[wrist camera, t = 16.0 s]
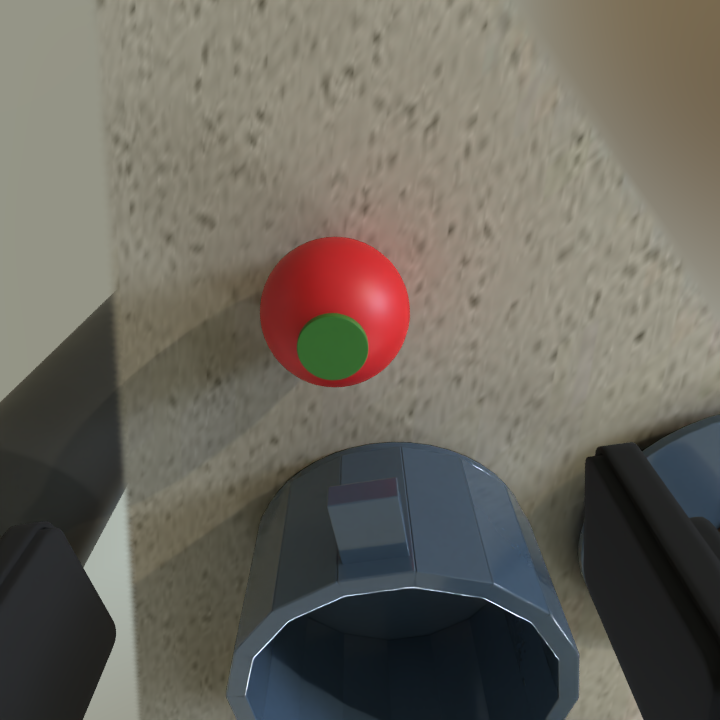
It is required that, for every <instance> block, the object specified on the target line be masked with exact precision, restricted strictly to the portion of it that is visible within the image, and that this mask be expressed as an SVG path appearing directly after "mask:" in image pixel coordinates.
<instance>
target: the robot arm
mask: <svg viewBox="0 0 720 720" xmlns="http://www.w3.org/2000/svg"><path fill="white" fill-rule="evenodd" d="M583 570H584V577H585V581H586V585H587V588H588V590H589V593H590V595H591V597H592V600H593V602H594V605H595V607H596V609H597V612H598V614H599V616H600V619H601V621H602V623H603V626H604V628H605V630H606V633H607V635H608V637H609V640H610V642H611V644H612V647H613V649H614V651H615V654H616V656H617V658H618V661H619V663H620V665H621V668H622V670H623V672H624V675H625V677H626V680H627V682H628V684H629V687H630V689H631V691H632V694H633V696H634V698H635V701H636V703H637V705H638V708H639V710H640V712H641V715H642V717H643V719H644V720H720V532H719V531H718V530H717V528H716V527H715V526H714V525H713V524H712V523H711V522H710V521H709V520H707V519H706V518H704V517H691V518H689V517H688V516H687V514H686V513H685V512H684V510H683V509H682V507H681V506H680V505H679V503H678V502H677V500H676V499H675V498H674V496H673V495H672V493H671V492H670V490H669V489H668V488H667V486H666V485H665V483H664V482H663V481H662V479H661V478H660V476H659V475H658V474H657V472H656V471H655V469H654V468H653V467H652V465H651V464H650V462H649V461H648V460H647V458H646V457H645V455H644V454H643V452H642V451H641V450H640V448H639V447H638V446H637V445H636V444H635V443H633V442H630V443H622V444H615V445H608V446H600V447H598V448H597V450H596V454H595V456H592V457H587V458H586V463H585V507H584V556H583ZM115 638H116V629H115V624H114V621H113V620H112V618H111V616H110V615H109V613H108V611H107V609H106V607H105V605H104V604H103V602H102V600H101V598H100V597H99V595H98V593H97V591H96V590H95V588H94V586H93V585H92V583H91V581H90V579H89V577H88V576H87V574H86V572H85V570H84V569H83V567H82V565H81V563H80V561H79V560H78V558H77V556H76V554H75V553H74V551H73V549H72V547H71V546H70V544H69V542H68V540H67V538H66V537H65V535H64V533H63V532H62V531H61V530H60V529H59V528H55V527H54V526H53V525H52V524H51V523H50V522H48V521H41V522H34V523H26V524H19V525H14V526H12V527H10V528H9V529H8V530H7V531H6V532H5V533H4V535H3V536H2V537H1V539H0V720H83V718H84V715H85V713H86V711H87V708H88V706H89V703H90V701H91V698H92V696H93V694H94V691H95V689H96V687H97V684H98V682H99V679H100V677H101V674H102V672H103V670H104V667H105V665H106V662H107V660H108V658H109V655H110V653H111V651H112V648H113V645H114V643H115Z"/></svg>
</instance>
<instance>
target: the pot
mask: <svg viewBox="0 0 720 720" xmlns="http://www.w3.org/2000/svg"><path fill="white" fill-rule="evenodd" d="M579 657H580V655H579V652H578V649H577V647H576V644H575V641H574V639H573V636H572V633H571V631H570V628H569V625H568V623H567V620H566V618H565V615H564V612H563V610H562V607H561V604H560V602H559V599H558V596H557V594H556V591H555V589H554V586H553V583H552V581H551V578H550V575H549V573H548V570H547V567H546V565H545V562H544V559H543V557H542V554H541V552H540V549H539V546H538V544H537V541H536V538H535V536H534V533H533V530H532V528H531V525H530V523H529V520H528V519H527V517H526V516H525V514H524V513H523V511H522V509H521V507H520V505H519V503H518V501H517V499H516V497H515V496H514V494H513V493H512V492H511V491H510V489H509V488H508V487H507V485H506V484H505V483H504V482H503V481H502V480H501V479H499V478H498V477H497V476H496V475H495V474H494V473H493V472H491V471H490V470H488V469H487V468H486V467H484V466H483V465H481V464H480V463H478V462H476V461H474V460H472V459H470V458H468V457H466V456H464V455H462V454H459V453H456V452H453V451H451V450H448V449H444V448H440V447H436V446H432V445H426V444H418V443H410V442H387V443H376V444H368V445H363V446H358V447H353V448H349V449H346V450H343V451H340V452H337V453H334V454H331V455H329V456H327V457H325V458H322V459H320V460H318V461H316V462H314V463H313V464H311V465H309V466H308V467H306V468H304V469H303V470H301V471H300V472H299V473H297V474H296V475H295V476H294V477H292V478H291V479H290V480H289V481H288V482H287V483H286V484H285V485H284V486H283V487H282V488H281V489H280V490H279V491H278V492H277V493H276V495H275V496H274V498H273V499H272V501H271V502H270V503H269V505H268V507H267V509H266V511H265V513H264V515H263V516H262V518H261V520H260V525H259V530H258V535H257V540H256V545H255V550H254V555H253V559H252V564H251V569H250V574H249V579H248V584H247V589H246V594H245V599H244V604H243V608H242V613H241V618H240V623H239V628H238V633H237V638H236V643H235V648H234V653H233V658H232V663H231V668H230V674H229V679H228V684H227V689H226V698H227V700H228V702H229V704H230V706H231V709H232V711H233V713H234V715H235V717H236V719H237V720H565V718H566V717H567V715H568V714H569V712H570V711H571V709H572V708H573V706H574V705H575V703H576V702H577V700H578V698H579Z"/></svg>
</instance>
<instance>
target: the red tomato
mask: <svg viewBox="0 0 720 720" xmlns="http://www.w3.org/2000/svg"><path fill="white" fill-rule="evenodd" d="M260 319H261V326H262V331H263V334H264V338H265V340H266V342H267V344H268V346H269V348H270V350H271V352H272V353H273V355H274V356H275V358H276V359H277V360H278V361H279V363H281V364H282V365H283V366H284V367H285V368H286V369H287V370H288V371H290V372H291V373H292V374H294V375H295V376H297V377H298V378H300V379H302V380H304V381H307V382H309V383H312V384H315V385H319V386H325V387H345V386H351V385H355V384H358V383H361V382H364V381H366V380H368V379H370V378H372V377H373V376H375V375H377V374H378V373H379V372H381V371H382V370H383V369H385V368H386V367H387V366H388V365H389V364H390V363H391V361H392V360H393V359H394V358H395V356H396V355H397V353H398V352H399V350H400V349H401V347H402V345H403V342H404V340H405V337H406V334H407V330H408V326H409V319H410V306H409V299H408V294H407V291H406V287H405V285H404V283H403V280H402V278H401V276H400V274H399V273H398V271H397V270H396V268H395V267H394V266H393V264H392V263H391V262H390V261H389V260H388V259H387V258H386V257H385V256H384V255H382V254H381V253H380V252H379V251H377V250H376V249H374V248H373V247H371V246H369V245H367V244H365V243H363V242H360V241H357V240H354V239H349V238H343V237H326V238H320V239H316V240H312V241H309V242H307V243H304V244H302V245H300V246H298V247H297V248H295V249H294V250H292V251H291V252H289V253H288V254H287V255H286V256H284V257H283V258H282V259H281V260H280V261H279V263H278V264H277V265H276V266H275V268H274V269H273V271H272V272H271V274H270V275H269V277H268V279H267V281H266V284H265V286H264V290H263V293H262V297H261V304H260Z"/></svg>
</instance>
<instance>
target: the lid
mask: <svg viewBox="0 0 720 720" xmlns="http://www.w3.org/2000/svg"><path fill="white" fill-rule="evenodd" d="M642 452H643V454H644V455H645V457H646V458H647V460H648V461H649V462H650V464H651V465H652V467H653V468H654V469H655V471H656V472H657V474H658V475H659V476H660V478H661V479H662V481H663V482H664V483H665V485H666V486H667V488H668V489H669V490H670V492H671V493H672V495H673V496H674V498H675V499H676V500H677V502H678V503H679V505H680V506H681V507H682V509H683V510H684V512H685V513H686V514H687V516H688V517H689V518H691V517H704V518H706V519H707V520H709V521H710V522H711V523H712V524H713V525H714V526H715V527H716V528H717V530H718V531H719V532H720V414H718V415H714V416H711V417H708V418H705V419H702V420H700V421H697V422H695V423H692V424H690V425H687V426H685V427H683V428H681V429H679V430H677V431H675V432H673V433H671V434H669V435H667V436H665V437H663V438H662V439H660V440H658V441H657V442H655V443H654V444H652V445H651V446H649V447H647V448H646V449H644V450H643V451H642ZM583 556H584V523H583V526H582V530H581V534H580V537H579V547H578V558H579V567H580V570H581V574H582V577H583V580H584V582H585V584H586V581H585V577H584V570H583ZM586 586H587V585H586Z"/></svg>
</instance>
